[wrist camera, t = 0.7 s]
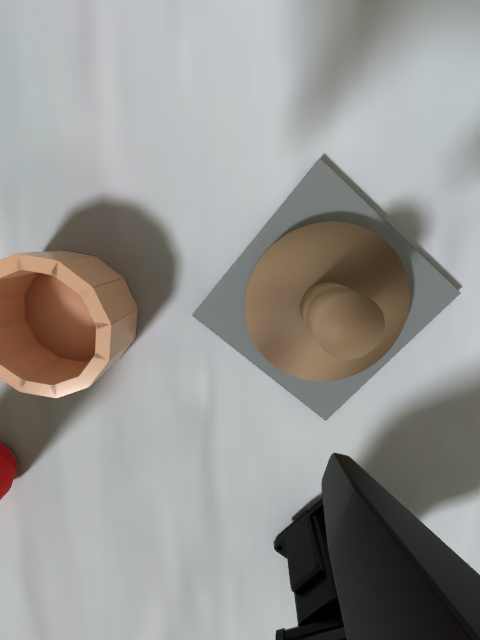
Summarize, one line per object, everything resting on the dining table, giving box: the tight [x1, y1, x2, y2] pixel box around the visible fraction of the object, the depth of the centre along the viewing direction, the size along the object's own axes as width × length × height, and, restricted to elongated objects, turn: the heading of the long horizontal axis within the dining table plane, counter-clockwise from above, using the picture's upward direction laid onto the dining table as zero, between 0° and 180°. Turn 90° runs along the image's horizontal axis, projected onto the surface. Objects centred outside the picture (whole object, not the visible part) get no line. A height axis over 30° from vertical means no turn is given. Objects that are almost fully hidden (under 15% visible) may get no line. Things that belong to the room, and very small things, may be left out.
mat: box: [192, 158, 460, 421], centre depth 19 cm, size 12×12×1 cm
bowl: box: [0, 251, 138, 398], centre depth 18 cm, size 8×8×4 cm
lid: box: [245, 221, 410, 381], centre depth 17 cm, size 10×10×5 cm
